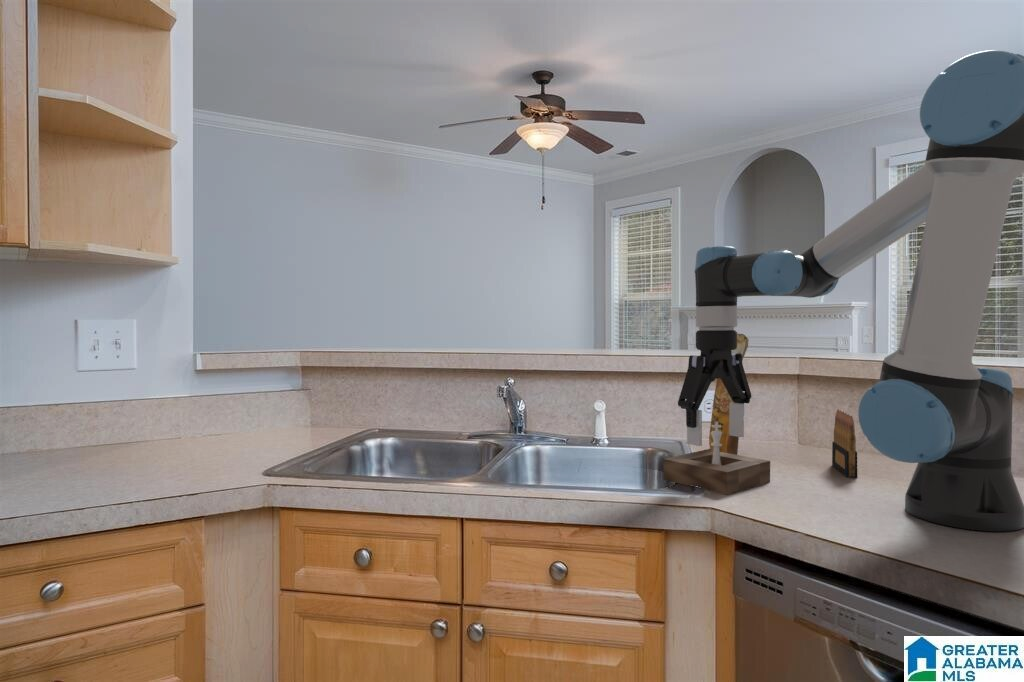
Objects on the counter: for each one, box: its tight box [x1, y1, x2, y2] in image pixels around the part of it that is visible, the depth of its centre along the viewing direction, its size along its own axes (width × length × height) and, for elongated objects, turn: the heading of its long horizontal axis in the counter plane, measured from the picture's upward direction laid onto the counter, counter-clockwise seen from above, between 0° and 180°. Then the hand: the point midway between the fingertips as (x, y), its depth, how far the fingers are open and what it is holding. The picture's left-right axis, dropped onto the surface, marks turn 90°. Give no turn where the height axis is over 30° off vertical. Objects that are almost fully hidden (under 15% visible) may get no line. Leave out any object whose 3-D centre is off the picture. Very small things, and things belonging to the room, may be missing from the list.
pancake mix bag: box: [708, 333, 749, 455], centre depth 144 cm, size 7×19×28 cm, turn 170°
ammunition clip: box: [831, 409, 858, 479], centre depth 126 cm, size 11×2×12 cm, turn 167°
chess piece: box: [711, 422, 722, 466], centre depth 120 cm, size 5×5×10 cm
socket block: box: [662, 449, 771, 496], centre depth 120 cm, size 14×14×4 cm
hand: (716, 440), depth 120 cm, fingers open, 13 cm apart
